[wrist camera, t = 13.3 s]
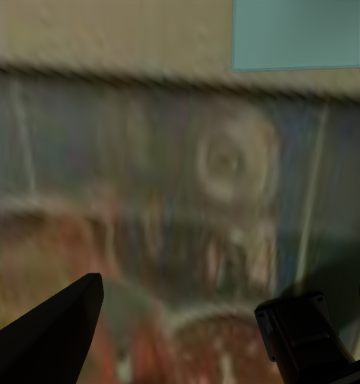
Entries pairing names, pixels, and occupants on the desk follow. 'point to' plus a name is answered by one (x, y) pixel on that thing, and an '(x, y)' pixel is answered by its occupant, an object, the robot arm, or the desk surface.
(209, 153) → the desk surface
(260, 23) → the holder
